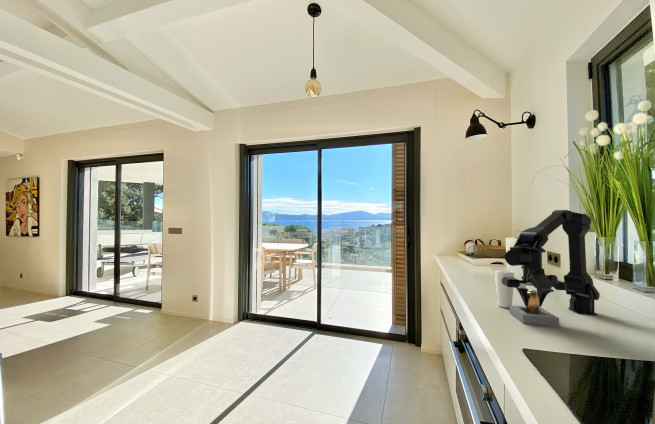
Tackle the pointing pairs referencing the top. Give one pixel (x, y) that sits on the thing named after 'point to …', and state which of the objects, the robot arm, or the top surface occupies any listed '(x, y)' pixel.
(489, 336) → the top surface
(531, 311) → the battery cell
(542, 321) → the gray cradle
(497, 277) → the drinking glass
